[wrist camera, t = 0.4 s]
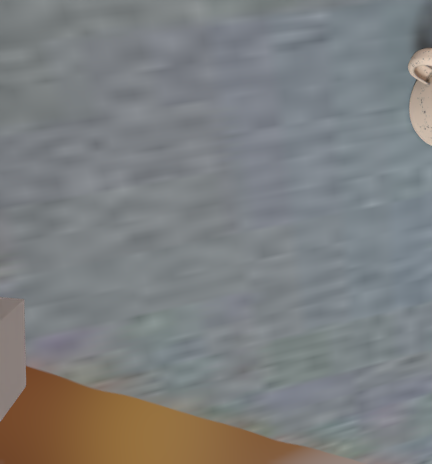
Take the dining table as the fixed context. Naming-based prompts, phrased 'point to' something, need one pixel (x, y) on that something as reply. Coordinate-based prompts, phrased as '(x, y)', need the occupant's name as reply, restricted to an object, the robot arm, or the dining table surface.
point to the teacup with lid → (422, 94)
